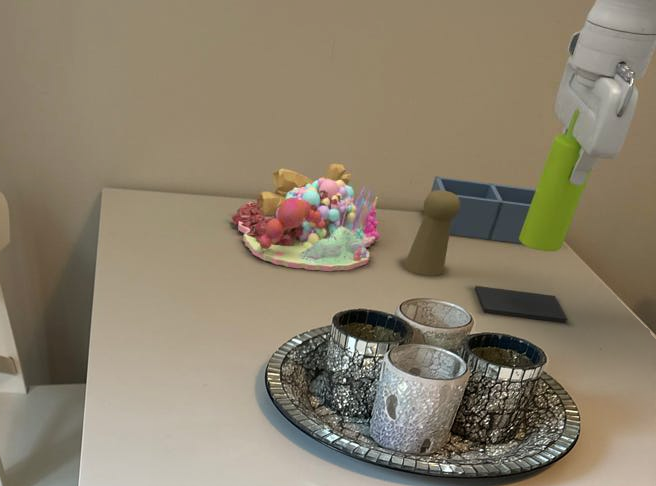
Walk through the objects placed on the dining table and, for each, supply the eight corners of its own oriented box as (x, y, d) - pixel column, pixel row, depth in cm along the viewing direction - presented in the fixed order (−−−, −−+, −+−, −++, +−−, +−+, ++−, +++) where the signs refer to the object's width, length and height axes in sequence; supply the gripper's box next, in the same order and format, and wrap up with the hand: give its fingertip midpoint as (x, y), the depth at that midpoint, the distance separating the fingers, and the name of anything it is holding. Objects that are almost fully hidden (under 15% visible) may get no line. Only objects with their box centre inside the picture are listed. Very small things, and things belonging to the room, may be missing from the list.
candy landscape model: (214, 208, 151) (222, 148, 144) (344, 209, 157) (357, 150, 150) (264, 272, 134) (275, 207, 127) (407, 270, 140) (425, 207, 133)
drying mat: (553, 299, 137) (554, 295, 137) (565, 323, 131) (567, 319, 131) (474, 289, 137) (475, 285, 137) (483, 312, 131) (484, 308, 131)
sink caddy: (534, 226, 159) (547, 190, 155) (546, 246, 153) (559, 209, 149) (425, 212, 159) (435, 176, 155) (431, 232, 153) (442, 194, 148)
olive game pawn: (421, 256, 144) (441, 183, 137) (451, 271, 141) (474, 196, 133) (396, 263, 141) (416, 189, 133) (426, 278, 138) (448, 203, 130)
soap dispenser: (551, 257, 125) (615, 93, 110) (510, 238, 128) (567, 77, 114) (575, 249, 127) (640, 88, 113) (534, 231, 131) (592, 72, 117)
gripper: (664, 78, 104) (612, 204, 114) (616, 39, 119) (573, 153, 129) (610, 71, 104) (563, 197, 114) (568, 33, 119) (529, 148, 129)
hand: (568, 174), depth 121 cm, fingers closed on soap dispenser, 6 cm apart
